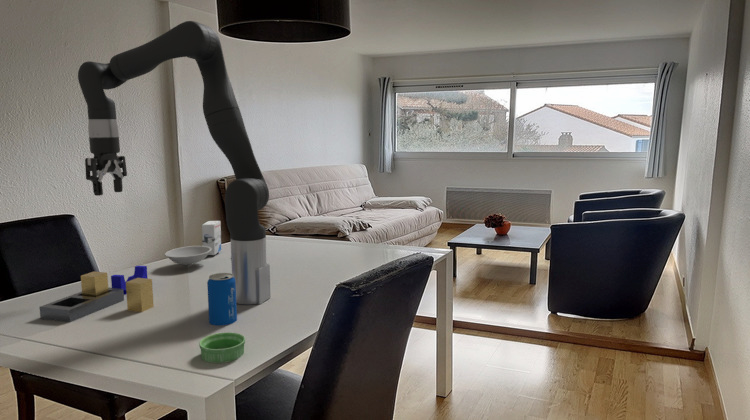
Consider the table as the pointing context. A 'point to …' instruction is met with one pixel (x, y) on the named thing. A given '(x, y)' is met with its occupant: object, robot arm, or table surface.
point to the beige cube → (94, 284)
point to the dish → (188, 254)
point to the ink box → (212, 236)
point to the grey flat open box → (79, 305)
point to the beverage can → (222, 299)
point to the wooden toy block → (139, 294)
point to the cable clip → (120, 282)
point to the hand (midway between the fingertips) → (108, 193)
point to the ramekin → (222, 340)
